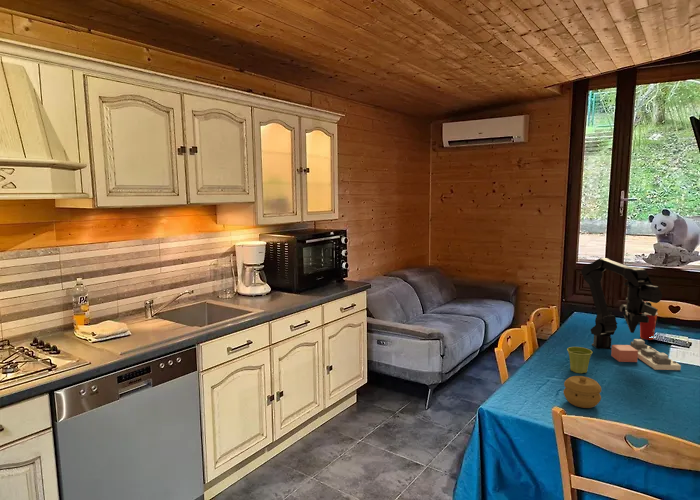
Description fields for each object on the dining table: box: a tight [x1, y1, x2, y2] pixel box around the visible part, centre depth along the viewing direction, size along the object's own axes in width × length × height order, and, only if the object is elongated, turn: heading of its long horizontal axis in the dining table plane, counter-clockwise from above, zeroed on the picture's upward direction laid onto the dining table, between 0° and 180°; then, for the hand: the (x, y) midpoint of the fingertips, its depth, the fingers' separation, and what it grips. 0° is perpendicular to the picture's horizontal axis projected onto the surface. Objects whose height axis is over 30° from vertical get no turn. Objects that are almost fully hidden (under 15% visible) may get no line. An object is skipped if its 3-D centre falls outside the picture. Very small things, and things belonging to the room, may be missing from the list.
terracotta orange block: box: [610, 344, 639, 363], centre depth 209 cm, size 7×7×5 cm
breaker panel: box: [629, 341, 682, 371], centre depth 208 cm, size 10×24×4 cm, turn 176°
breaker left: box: [632, 338, 646, 345], centre depth 217 cm, size 3×3×2 cm
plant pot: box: [566, 346, 593, 374], centre depth 195 cm, size 9×9×9 cm
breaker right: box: [655, 352, 669, 359], centre depth 199 cm, size 3×3×2 cm
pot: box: [562, 375, 602, 409], centre depth 166 cm, size 12×12×10 cm
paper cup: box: [639, 311, 658, 341], centre depth 236 cm, size 8×8×14 cm
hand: (632, 332), depth 207 cm, fingers closed
